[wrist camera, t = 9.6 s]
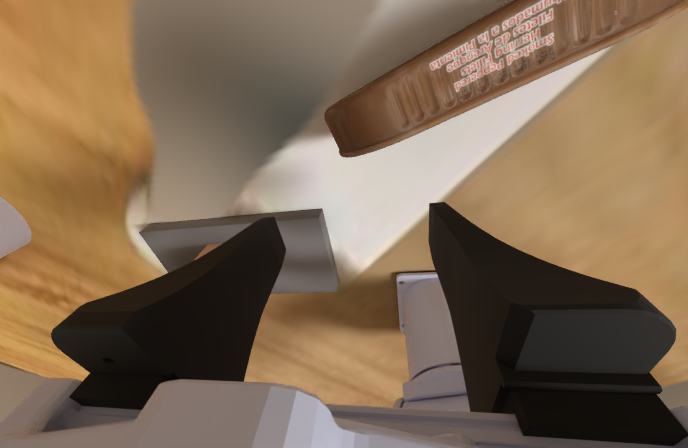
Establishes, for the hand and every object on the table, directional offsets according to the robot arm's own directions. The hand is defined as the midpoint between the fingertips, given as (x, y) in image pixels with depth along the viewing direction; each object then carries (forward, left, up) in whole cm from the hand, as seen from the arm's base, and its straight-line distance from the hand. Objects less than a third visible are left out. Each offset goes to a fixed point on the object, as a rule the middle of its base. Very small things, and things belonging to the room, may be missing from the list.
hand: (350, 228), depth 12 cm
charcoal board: (-9, +13, -9) cm, 18 cm away
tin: (+6, -6, -10) cm, 13 cm away
